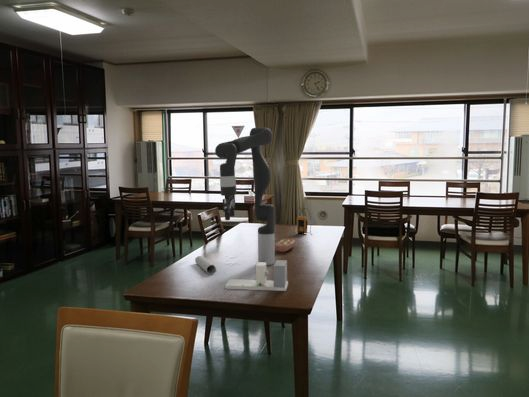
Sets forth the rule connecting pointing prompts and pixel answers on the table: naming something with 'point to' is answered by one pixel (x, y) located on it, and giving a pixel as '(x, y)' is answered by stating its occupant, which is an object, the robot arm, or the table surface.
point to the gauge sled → (261, 273)
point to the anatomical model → (285, 244)
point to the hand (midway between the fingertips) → (230, 218)
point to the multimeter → (302, 223)
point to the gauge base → (277, 285)
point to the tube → (205, 265)
